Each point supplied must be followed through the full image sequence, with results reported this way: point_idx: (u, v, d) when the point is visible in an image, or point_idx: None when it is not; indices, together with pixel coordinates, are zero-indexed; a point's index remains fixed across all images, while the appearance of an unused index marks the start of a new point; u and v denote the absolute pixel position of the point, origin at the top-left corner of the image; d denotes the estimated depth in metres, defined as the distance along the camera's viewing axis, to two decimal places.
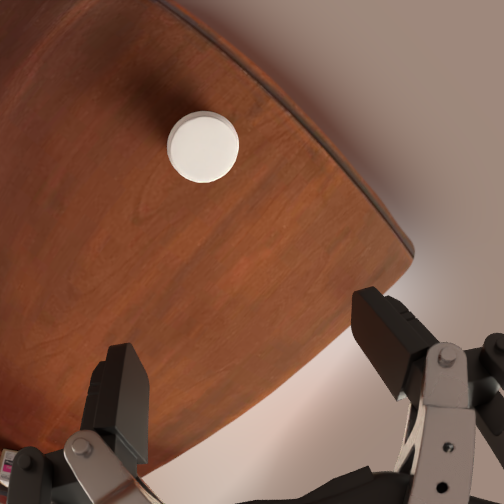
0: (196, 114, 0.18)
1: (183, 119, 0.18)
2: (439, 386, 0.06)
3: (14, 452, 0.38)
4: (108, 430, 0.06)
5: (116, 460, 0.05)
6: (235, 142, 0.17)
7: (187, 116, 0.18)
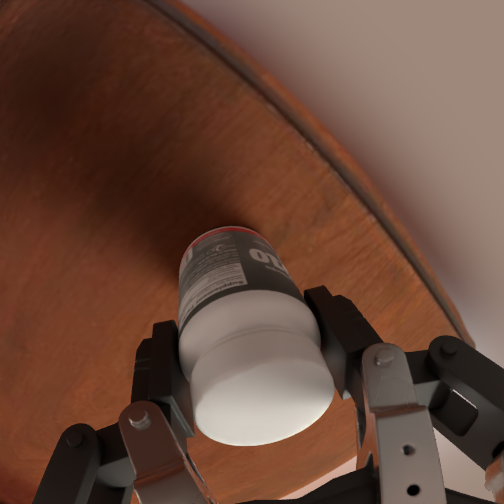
0: (240, 309, 0.09)
1: (211, 319, 0.09)
2: (370, 387, 0.07)
3: None
4: (163, 400, 0.07)
5: (172, 436, 0.06)
6: (331, 390, 0.08)
7: (219, 311, 0.09)
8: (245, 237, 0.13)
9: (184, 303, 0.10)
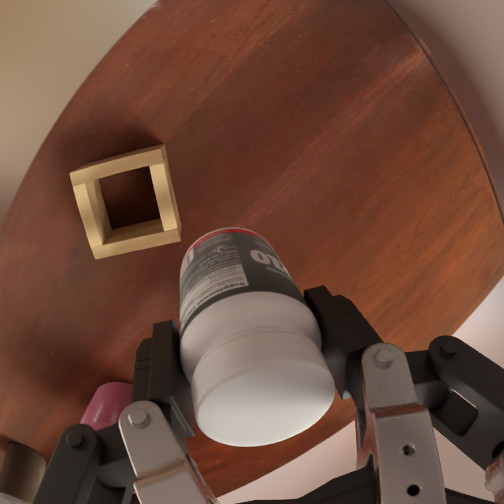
0: (242, 311, 0.09)
1: (212, 320, 0.09)
2: (370, 387, 0.07)
3: None
4: (164, 400, 0.07)
5: (172, 436, 0.06)
6: (332, 391, 0.08)
7: (221, 313, 0.09)
8: (246, 238, 0.13)
9: (185, 304, 0.10)
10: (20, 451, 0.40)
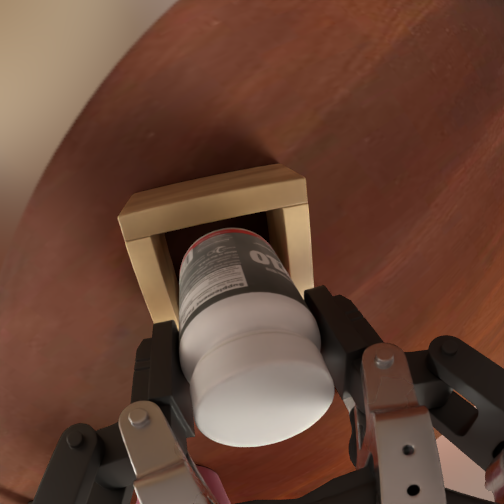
0: (241, 311, 0.09)
1: (211, 321, 0.09)
2: (370, 387, 0.07)
3: None
4: (163, 400, 0.07)
5: (172, 436, 0.06)
6: (331, 392, 0.08)
7: (220, 313, 0.09)
8: (245, 239, 0.13)
9: (185, 305, 0.10)
10: None
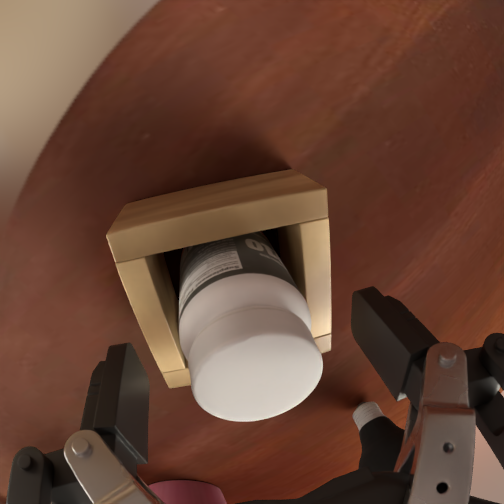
0: (236, 290, 0.09)
1: (209, 299, 0.09)
2: (439, 386, 0.06)
3: None
4: (108, 430, 0.06)
5: (116, 460, 0.05)
6: (320, 366, 0.09)
7: (216, 292, 0.10)
8: None
9: (184, 288, 0.11)
10: None
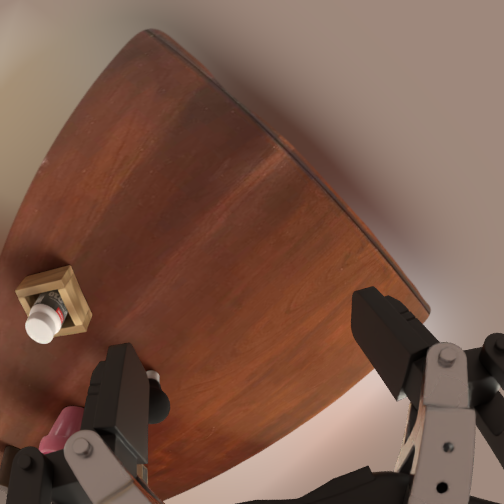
0: (36, 308, 0.31)
1: (32, 309, 0.31)
2: (439, 386, 0.06)
3: None
4: (108, 430, 0.06)
5: (116, 460, 0.05)
6: (49, 329, 0.31)
7: (33, 308, 0.31)
8: None
9: None
10: (14, 452, 0.50)
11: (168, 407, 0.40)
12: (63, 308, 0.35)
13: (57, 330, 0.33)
